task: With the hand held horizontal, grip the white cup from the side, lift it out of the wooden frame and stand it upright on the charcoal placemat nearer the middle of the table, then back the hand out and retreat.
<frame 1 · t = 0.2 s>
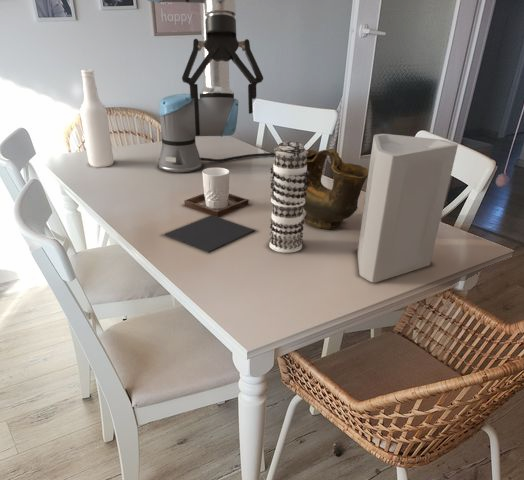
hand: (224, 113, 132), 27 cm above the table, tool tilted 20°, fingers open, 13 cm apart
decorative candle: (285, 246, 132), on the table
pottery vessel: (322, 222, 146), on the table
white cup: (216, 205, 155), resting in wooden frame
white triangular vase: (381, 262, 126), on the table
mat: (210, 233, 138), on the table
alcohol: (101, 164, 186), on the table
wooden frame: (216, 205, 155), on the table
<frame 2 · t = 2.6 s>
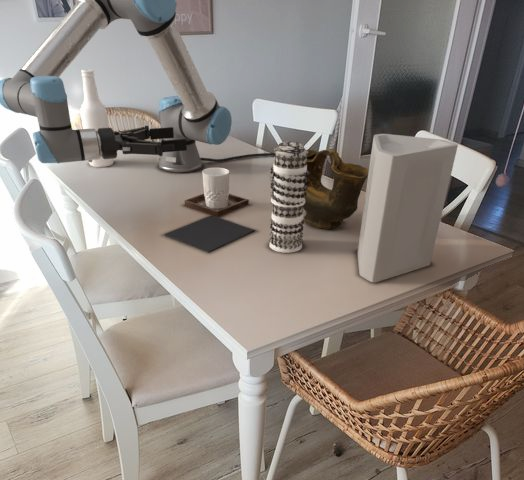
hand: (179, 138, 140), 20 cm above the table, tool horizontal, fingers open, 13 cm apart
nothing on the table moved.
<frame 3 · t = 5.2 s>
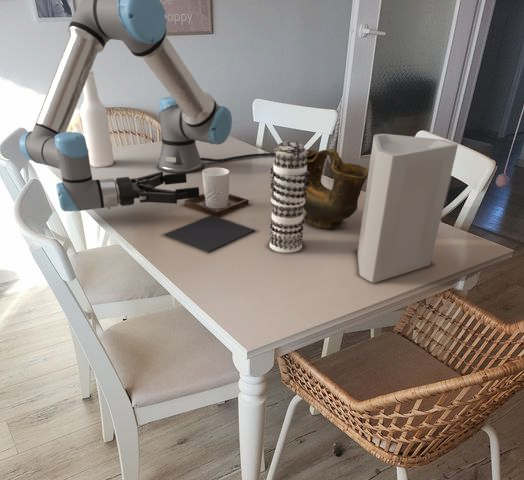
hand: (192, 184, 148), 7 cm above the table, tool horizontal, fingers open, 13 cm apart
nothing on the table moved.
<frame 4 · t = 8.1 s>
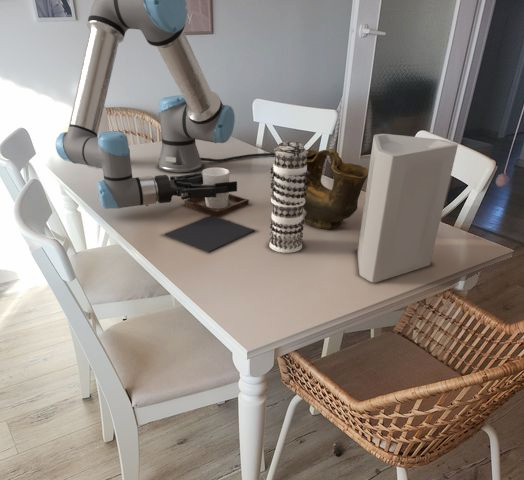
hand: (231, 181, 153), 6 cm above the table, tool horizontal, fingers closed on white cup, 8 cm apart
white cup: (216, 205, 155), resting in wooden frame, touching gripper
everything else where it was.
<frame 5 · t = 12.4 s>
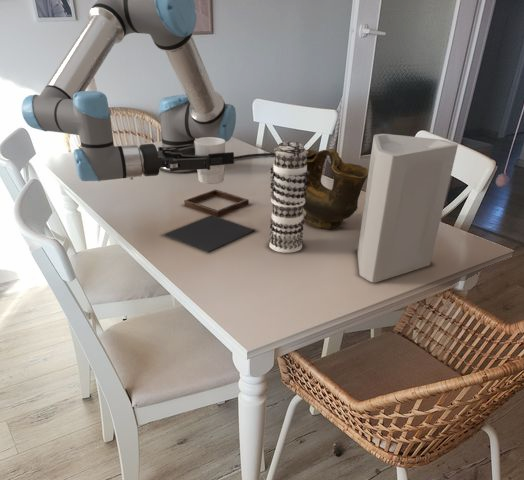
hand: (228, 153, 135), 18 cm above the table, tool horizontal, fingers closed on white cup, 8 cm apart
white cup: (211, 181, 137), point 11 cm above the table, touching gripper
everything else where it was.
when the fingers open (7 cm above the table, at t = 17.0 s): white cup stays where it is, resting on mat.
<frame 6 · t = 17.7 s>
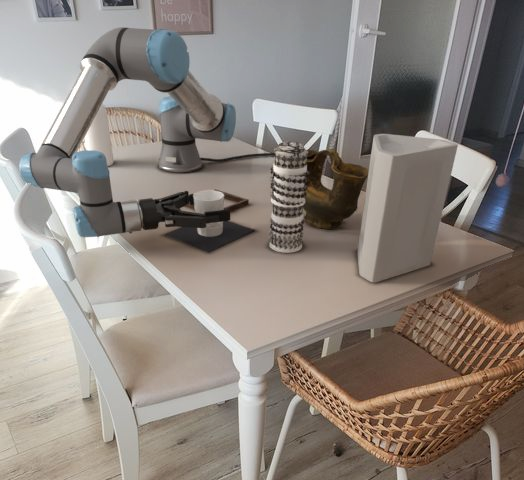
hand: (221, 205, 135), 7 cm above the table, tool horizontal, fingers open, 13 cm apart
white cup: (210, 232, 138), resting on mat
everything else where it was.
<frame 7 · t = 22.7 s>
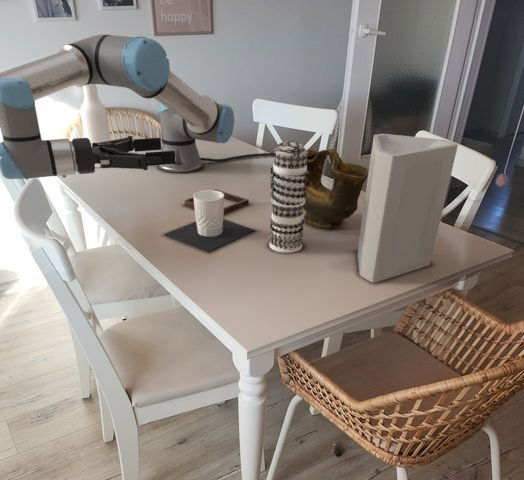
hand: (167, 150, 122), 22 cm above the table, tool horizontal, fingers open, 13 cm apart
nothing on the table moved.
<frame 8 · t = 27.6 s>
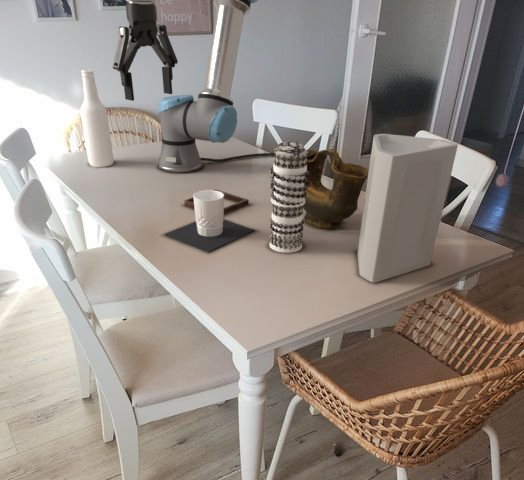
hand: (149, 96, 141), 29 cm above the table, tool pointing down, fingers open, 13 cm apart
nothing on the table moved.
at the end: white cup inside the target area on the mat (0.1 cm from its centre), point 0.1 cm above the mat's base; white cup tilted 0°; the gripper is holding nothing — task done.
